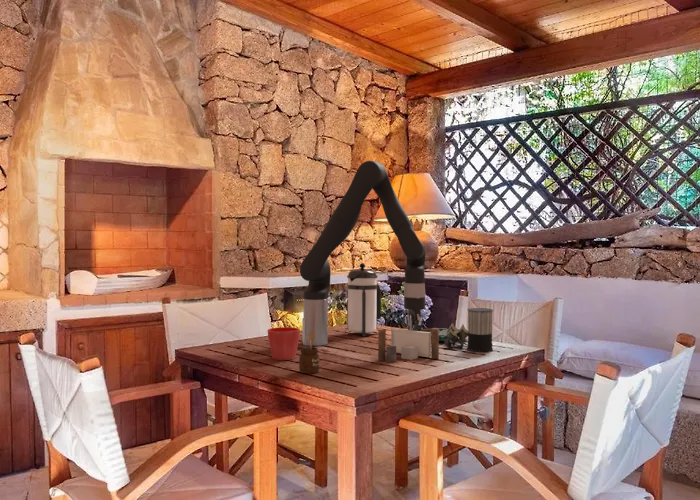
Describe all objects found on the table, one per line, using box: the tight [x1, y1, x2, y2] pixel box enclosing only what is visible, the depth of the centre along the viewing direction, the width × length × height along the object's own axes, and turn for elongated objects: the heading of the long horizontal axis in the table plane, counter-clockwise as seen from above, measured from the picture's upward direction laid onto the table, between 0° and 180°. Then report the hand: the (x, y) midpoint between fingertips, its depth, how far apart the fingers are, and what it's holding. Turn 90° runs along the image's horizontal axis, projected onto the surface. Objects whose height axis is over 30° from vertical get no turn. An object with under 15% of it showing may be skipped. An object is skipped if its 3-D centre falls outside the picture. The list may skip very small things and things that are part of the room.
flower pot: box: [267, 326, 301, 361], centre depth 203 cm, size 11×11×10 cm
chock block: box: [400, 345, 419, 361], centre depth 204 cm, size 4×4×4 cm
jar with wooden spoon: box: [298, 330, 320, 375], centre depth 182 cm, size 6×6×12 cm
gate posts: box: [377, 327, 440, 363], centre depth 200 cm, size 21×4×10 cm, turn 103°
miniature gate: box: [421, 322, 468, 343], centre depth 244 cm, size 27×6×30 cm
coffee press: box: [343, 262, 382, 338], centre depth 256 cm, size 17×16×30 cm
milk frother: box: [443, 307, 494, 353], centre depth 221 cm, size 14×16×15 cm
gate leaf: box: [390, 328, 431, 358], centre depth 209 cm, size 15×2×8 cm, turn 53°
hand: (414, 344), depth 217 cm, fingers closed
